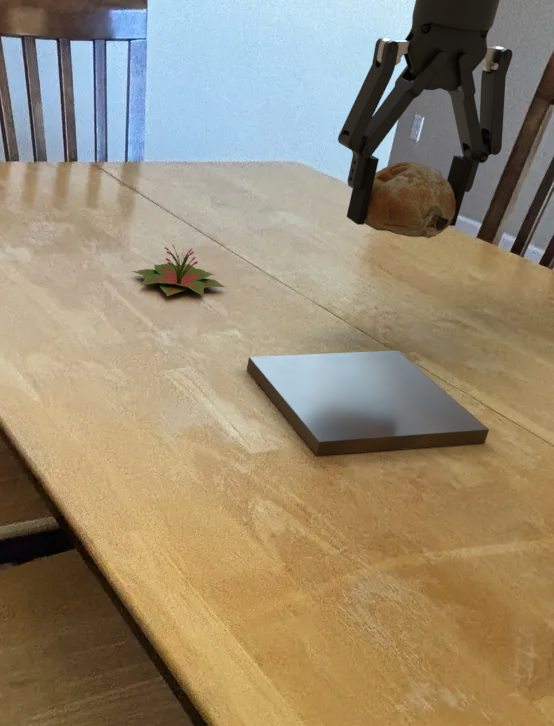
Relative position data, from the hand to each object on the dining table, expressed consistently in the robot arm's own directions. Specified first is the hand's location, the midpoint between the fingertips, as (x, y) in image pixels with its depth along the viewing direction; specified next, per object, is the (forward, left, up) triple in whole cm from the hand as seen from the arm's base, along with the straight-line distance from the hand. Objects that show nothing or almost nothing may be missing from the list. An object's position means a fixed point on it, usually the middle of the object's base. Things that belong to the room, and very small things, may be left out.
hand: (401, 221), depth 94 cm
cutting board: (+9, +14, -14) cm, 22 cm away
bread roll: (0, 0, 0) cm, 1 cm away
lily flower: (+18, -20, -14) cm, 30 cm away
